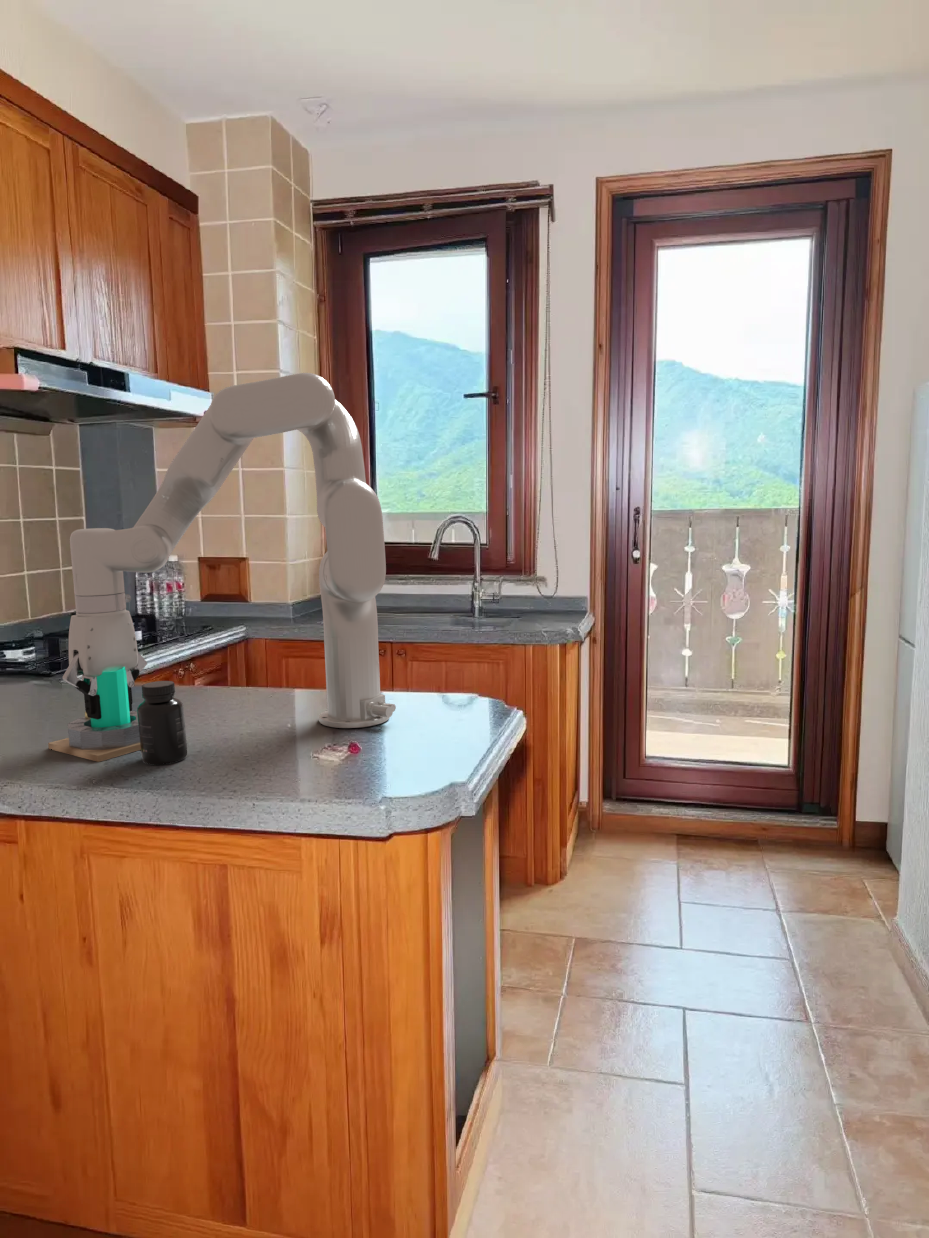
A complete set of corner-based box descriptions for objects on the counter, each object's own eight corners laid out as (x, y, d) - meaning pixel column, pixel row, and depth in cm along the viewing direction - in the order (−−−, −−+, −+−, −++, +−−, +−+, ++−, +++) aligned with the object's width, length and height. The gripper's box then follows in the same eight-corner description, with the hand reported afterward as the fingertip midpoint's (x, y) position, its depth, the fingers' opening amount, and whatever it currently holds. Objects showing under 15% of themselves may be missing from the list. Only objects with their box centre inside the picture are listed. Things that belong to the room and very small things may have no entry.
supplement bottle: (171, 750, 141) (166, 677, 140) (196, 757, 137) (191, 682, 135) (132, 760, 136) (126, 685, 134) (156, 768, 132) (150, 690, 130)
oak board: (174, 739, 147) (173, 734, 147) (98, 761, 136) (98, 755, 136) (124, 728, 155) (123, 723, 155) (48, 748, 144) (48, 742, 144)
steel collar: (168, 734, 147) (167, 712, 146) (99, 754, 136) (97, 730, 136) (122, 724, 154) (121, 703, 154) (53, 742, 144) (51, 719, 143)
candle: (130, 723, 149) (124, 654, 147) (131, 732, 143) (125, 660, 142) (92, 727, 147) (86, 657, 145) (91, 736, 141) (84, 663, 139)
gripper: (132, 597, 151) (140, 700, 154) (37, 610, 137) (48, 722, 140) (159, 600, 147) (167, 705, 149) (64, 612, 133) (75, 729, 136)
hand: (109, 712), depth 145 cm, fingers closed on candle, 4 cm apart
